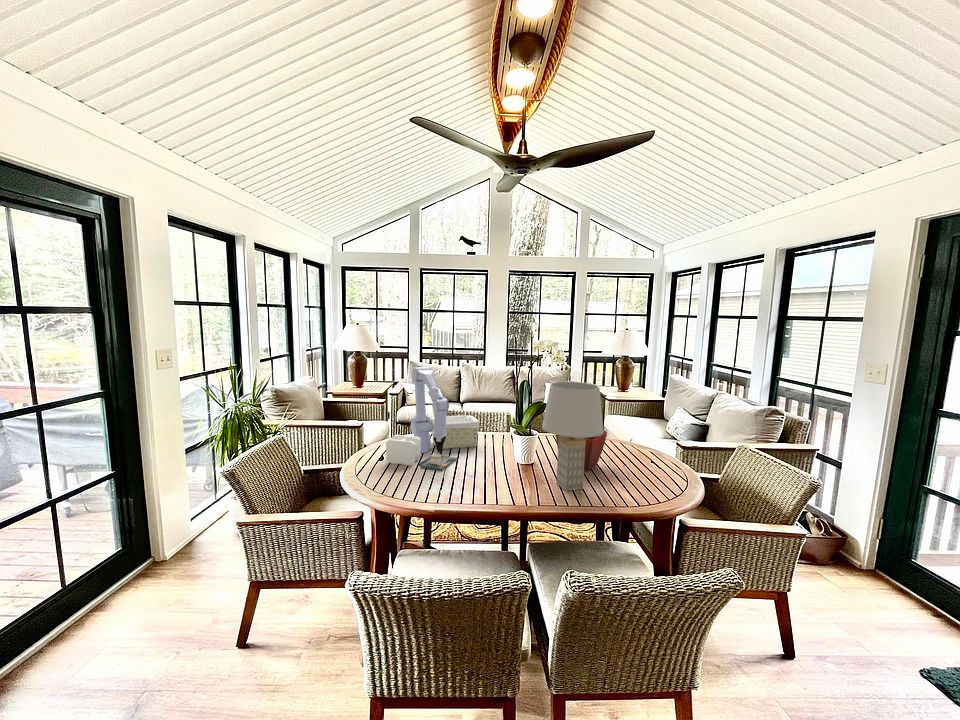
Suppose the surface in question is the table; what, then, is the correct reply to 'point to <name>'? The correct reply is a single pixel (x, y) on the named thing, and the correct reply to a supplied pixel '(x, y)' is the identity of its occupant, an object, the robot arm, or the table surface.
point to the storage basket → (460, 431)
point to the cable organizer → (403, 449)
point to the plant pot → (592, 450)
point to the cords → (424, 461)
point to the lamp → (572, 427)
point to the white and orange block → (435, 459)
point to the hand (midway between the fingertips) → (439, 452)
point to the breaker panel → (445, 463)
